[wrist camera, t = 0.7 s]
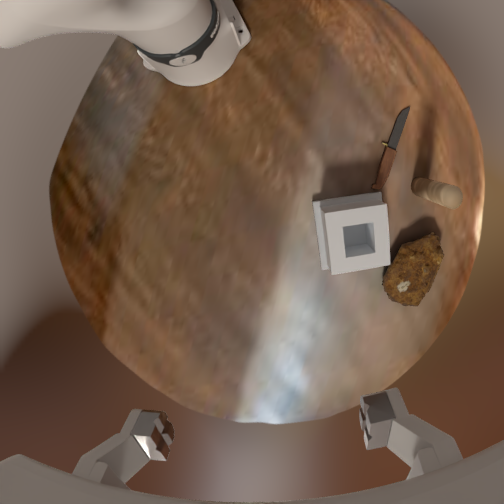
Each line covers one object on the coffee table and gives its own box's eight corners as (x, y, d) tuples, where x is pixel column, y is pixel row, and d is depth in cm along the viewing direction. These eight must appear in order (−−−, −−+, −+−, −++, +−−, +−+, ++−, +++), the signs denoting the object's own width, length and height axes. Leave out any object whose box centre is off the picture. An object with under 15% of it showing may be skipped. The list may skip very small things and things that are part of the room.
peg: (410, 177, 47) (444, 186, 36) (426, 176, 47) (461, 184, 35) (412, 197, 48) (445, 210, 37) (427, 194, 48) (462, 207, 36)
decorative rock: (403, 217, 50) (370, 289, 56) (410, 222, 46) (375, 299, 52) (449, 238, 50) (416, 304, 55) (458, 245, 46) (423, 315, 51)
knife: (396, 98, 42) (411, 106, 42) (394, 99, 43) (409, 106, 43) (368, 186, 48) (383, 193, 48) (366, 185, 49) (381, 192, 49)
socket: (312, 201, 50) (316, 207, 44) (379, 191, 48) (392, 196, 43) (321, 268, 54) (326, 281, 48) (384, 257, 52) (395, 269, 46)
